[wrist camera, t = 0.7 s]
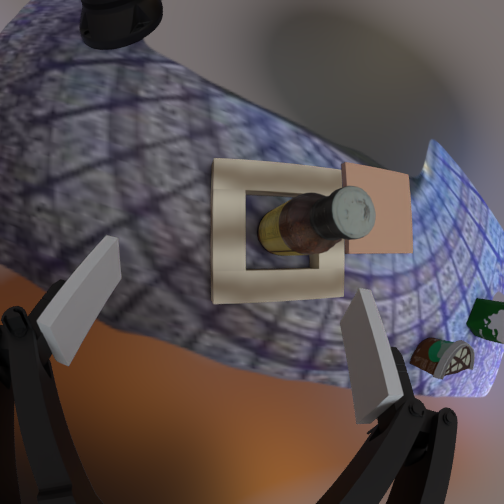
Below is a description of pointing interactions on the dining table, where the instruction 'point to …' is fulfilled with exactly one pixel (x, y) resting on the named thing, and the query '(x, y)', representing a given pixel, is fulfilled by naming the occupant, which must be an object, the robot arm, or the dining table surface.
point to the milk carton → (487, 320)
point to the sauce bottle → (317, 222)
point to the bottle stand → (234, 234)
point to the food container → (443, 357)
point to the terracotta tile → (382, 209)
